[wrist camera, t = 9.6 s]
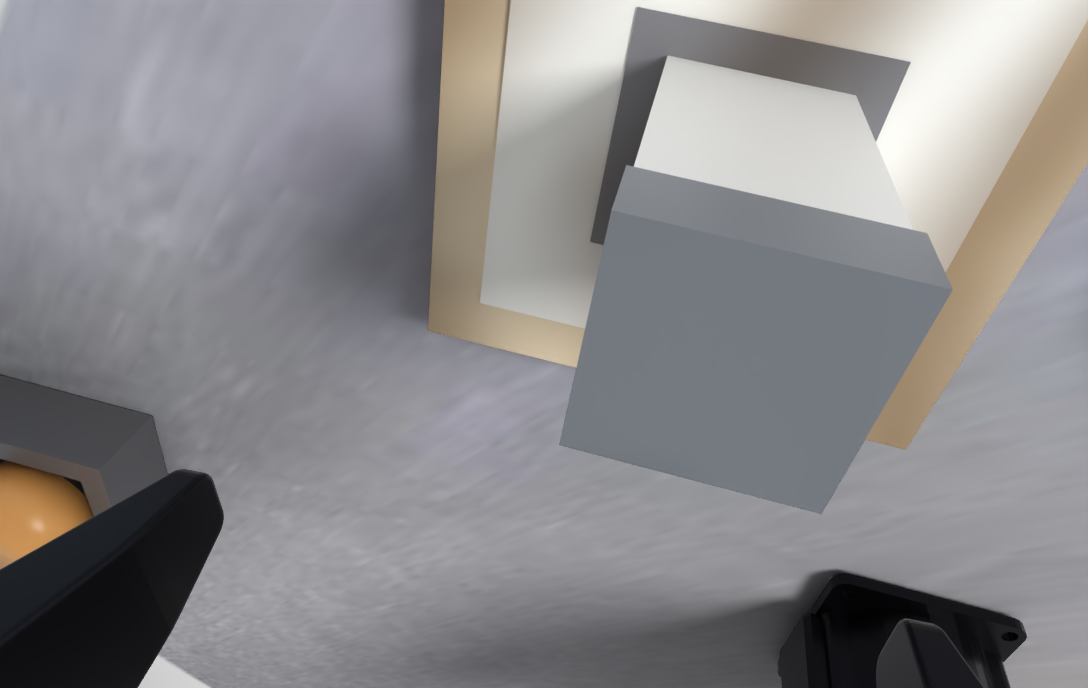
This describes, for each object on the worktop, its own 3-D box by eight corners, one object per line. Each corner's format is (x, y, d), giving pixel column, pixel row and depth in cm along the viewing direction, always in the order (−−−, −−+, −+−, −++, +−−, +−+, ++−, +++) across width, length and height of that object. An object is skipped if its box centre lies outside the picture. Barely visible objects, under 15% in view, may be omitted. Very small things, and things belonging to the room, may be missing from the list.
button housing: (152, 415, 29) (99, 469, 26) (181, 527, 33) (138, 582, 30) (-8, 372, 29) (-74, 421, 27) (41, 488, 33) (-12, 538, 31)
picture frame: (1246, -154, 13) (1293, -152, 12) (898, 421, 21) (906, 453, 20) (478, -284, 14) (457, -293, 13) (440, 309, 22) (426, 333, 21)
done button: (83, 476, 27) (34, 525, 25) (109, 547, 30) (66, 597, 28) (-21, 447, 28) (-78, 493, 26) (14, 520, 30) (-35, 567, 29)
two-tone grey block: (862, 91, 15) (952, 289, 9) (791, 263, 18) (821, 514, 11) (664, 49, 15) (612, 210, 9) (623, 224, 18) (559, 445, 12)
